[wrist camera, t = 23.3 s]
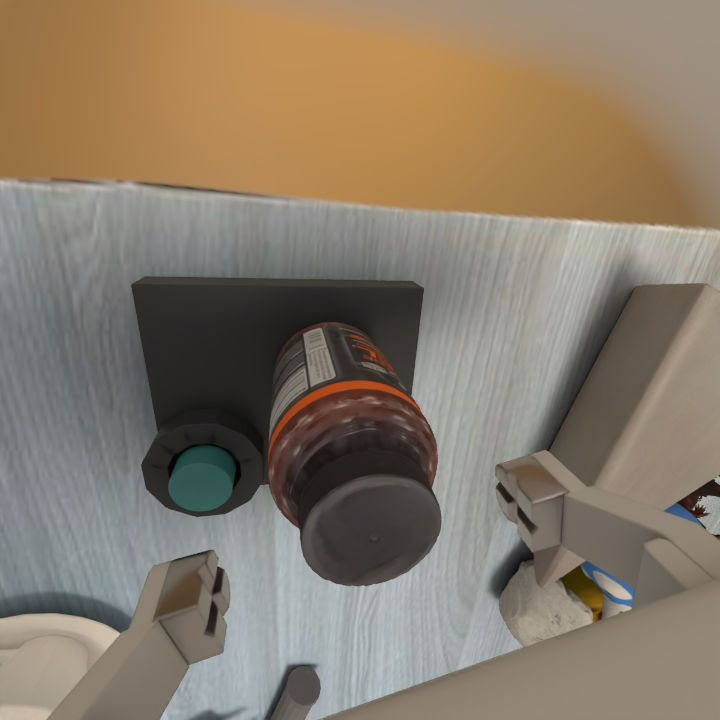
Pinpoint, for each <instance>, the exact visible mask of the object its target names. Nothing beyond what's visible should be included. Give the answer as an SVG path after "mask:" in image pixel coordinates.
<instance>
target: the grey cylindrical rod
mask: <svg viewBox="0 0 720 720" xmlns="http://www.w3.org/2000/svg"><path fill="white" fill-rule="evenodd" d="M320 689H321V687H320V680H319V678H318V676H317V674H316V673H315V672H314V671H313V670H312V669H311V668H309V667H306V666H301V667H297V668H296V669H294V670H293V671H292V672H291V674H290V675H289V676H288V680H287V684H286V687H285V690H284V692H283V694H282V696H281V698H280V700H279V702H278V704H277V707H276V709H275V711H274V713H273V715H272V717H271V719H270V720H305V718H306V716H307V714H308V712H309V710H310V708H311V707H312V705H314V704H315V703H316V701H317V699H318V698H319V695H320Z"/></svg>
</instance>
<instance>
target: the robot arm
mask: <svg viewBox="0 0 720 720" xmlns="http://www.w3.org/2000/svg"><path fill="white" fill-rule="evenodd" d="M495 476H496V477H497V478H498V480H499V481H500V482H499V483H498V485H497V486H496V494H497V499H498V502H499V505H500V507H501V509H502V511H503V513H504V514H505V516H506V517H507V519H508V520H510V521H512V522H514V523H516V524H517V532H518V534H519V535H520V537H521V538H522V539H523V541H524V542H525V544H526V545H527V546H528V548H529V549H530V550H531V552H535V551H539V550H542V549H545V548H549V547H552V546H556V545H559V544H561V546H563V547H565V548H566V549H568V550H570V551H571V552H573V553H575V554H576V555H578V556H580V557H581V558H583V559H585V560H586V561H588V562H590V563H591V564H593V565H595V566H596V567H598V568H600V569H601V570H603V571H605V572H606V573H608V574H610V575H611V576H613V577H615V578H616V579H618V580H620V581H622V582H623V583H625V584H627V585H628V586H630V587H632V588H633V589H635V592H634V597H633V603H632V609H631V610H628V611H625V612H622V613H619V614H617V615H614V616H611V617H608V618H605V619H602V620H600V621H597V622H594V623H591V624H588V625H585V626H582V627H580V628H577V629H574V630H571V631H568V632H565V633H563V634H560V635H557V636H554V637H551V638H548V639H546V640H543V641H540V642H537V643H534V644H531V645H529V646H526V647H523V648H520V649H517V650H514V651H511V652H509V653H506V654H503V655H500V656H497V657H494V658H492V659H489V660H486V661H483V662H480V663H477V664H475V665H472V666H469V667H466V668H463V669H460V670H457V671H455V672H452V673H449V674H446V675H443V676H440V677H438V678H435V679H432V680H429V681H426V682H423V683H421V684H418V685H415V686H412V687H409V688H406V689H404V690H401V691H398V692H395V693H392V694H389V695H387V696H384V697H381V698H378V699H375V700H373V701H370V702H367V703H364V704H361V705H358V706H356V707H353V708H350V709H347V710H344V711H341V712H339V713H336V714H333V715H330V716H327V717H324V718H322V719H319V720H720V540H718V539H717V538H716V537H715V536H713V535H712V534H711V533H709V532H708V531H707V530H705V529H704V528H703V527H702V526H700V525H699V524H698V523H695V522H692V521H689V520H687V519H684V518H681V517H678V516H675V515H673V514H670V513H667V512H664V511H662V510H659V509H656V508H653V507H650V506H648V505H645V504H642V503H639V502H636V501H634V500H631V499H628V498H625V497H622V496H620V495H617V494H614V493H611V492H609V491H606V490H603V489H600V488H597V487H595V486H589V487H587V486H586V485H585V484H584V483H582V482H581V481H580V480H579V479H578V478H577V477H576V476H575V475H574V474H573V473H572V472H570V471H569V470H568V469H567V468H566V467H565V466H564V465H563V464H562V463H561V462H560V461H558V460H557V459H556V458H555V457H554V456H553V455H552V454H551V453H550V452H548V451H546V450H543V451H540V452H537V453H534V454H530V455H528V456H524V457H521V458H517V459H514V460H511V461H508V462H504V463H501V464H498V465H496V468H495ZM218 559H219V558H218V556H217V555H216V553H215V551H214V550H208V551H204V552H201V553H197V554H193V555H190V556H186V557H182V558H178V559H175V560H172V561H169V562H165V563H161V564H158V565H154V566H153V567H152V568H151V570H150V571H149V573H148V576H147V579H146V582H145V584H144V587H143V590H142V593H141V596H140V598H139V601H138V604H137V607H136V610H135V612H134V615H133V618H132V621H131V624H130V626H129V629H128V630H126V631H123V632H121V634H120V635H119V636H118V637H117V638H116V639H115V641H114V642H113V643H112V644H111V645H110V646H109V647H108V649H107V650H106V651H105V652H104V653H103V654H102V656H101V657H100V658H99V659H98V660H97V661H96V662H95V664H94V665H93V666H92V667H91V668H90V669H89V671H88V672H87V673H86V674H85V675H84V676H83V677H82V679H81V680H80V681H79V682H78V683H77V684H76V686H75V687H74V688H73V689H72V690H71V691H70V692H69V694H68V695H67V696H66V697H65V698H64V699H63V701H62V702H61V703H60V704H59V705H58V706H57V707H56V709H55V710H54V711H53V712H52V713H51V714H50V716H49V717H48V718H47V719H46V720H159V719H160V718H161V716H162V714H163V712H164V710H165V709H166V707H167V705H168V703H169V702H170V700H171V698H172V696H173V695H174V693H175V691H176V689H177V688H178V686H179V684H180V682H181V681H182V679H183V677H184V675H185V674H186V672H187V670H188V668H189V666H188V665H190V664H193V663H196V662H199V661H201V660H204V659H207V658H210V657H213V656H215V655H218V654H221V653H223V651H224V644H225V636H226V628H227V624H226V622H225V620H224V618H223V616H224V614H225V613H226V611H227V610H228V608H229V604H230V584H229V580H228V577H227V574H226V572H225V570H224V569H222V568H220V567H218V566H217V565H218Z"/></svg>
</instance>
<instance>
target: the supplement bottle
mask: <svg viewBox="0 0 720 720" xmlns="http://www.w3.org/2000/svg"><path fill="white" fill-rule="evenodd" d="M268 454H269V455H268V479H269V487H270V490H271V494H272V496H273V499H274V501H275V503H276V505H277V507H278V508H279V510H280V511H281V512H282V514H283V515H284V516H285V517H286V518H287V519H288V520H289V521H290V522H291V523H292V524H293V525H295V526H296V527H298V528H299V529H300V540H301V547H302V552H303V556H304V558H305V560H306V562H307V564H308V565H309V566H310V567H311V569H312V570H313V571H314V572H315V573H317V574H318V575H319V576H320V577H322V578H323V579H325V580H330V581H332V582H334V583H336V584H342V585H347V586H352V585H353V586H363V585H364V586H368V585H372V584H378V583H382V582H386V581H388V580H391V579H394V578H396V577H398V576H400V575H402V574H404V573H406V572H408V571H409V570H410V569H411V568H413V567H414V566H415V565H417V564H418V563H419V562H420V561H421V560H422V559H423V558H424V557H425V556H426V555H427V554H428V553H429V552H430V550H431V549H432V547H433V545H434V544H435V542H436V540H437V537H438V536H439V533H440V529H441V511H440V507H439V504H438V502H437V499H436V497H435V495H434V493H433V490H432V485H433V482H434V479H435V476H436V470H437V463H438V454H437V444H436V440H435V437H434V435H433V432H432V430H431V428H430V425H429V424H428V422H427V420H426V418H425V417H424V415H423V414H422V412H421V410H420V408H419V406H418V405H417V404H416V403H415V401H414V399H413V398H412V397H411V395H410V394H409V392H408V390H407V389H406V387H405V386H404V385H403V383H402V382H401V380H400V379H399V377H398V376H397V375H396V373H395V371H394V370H393V368H392V367H391V365H390V364H389V362H388V361H387V359H386V357H385V356H384V355H383V353H382V352H381V350H380V348H379V347H378V346H377V344H376V343H375V342H374V341H373V340H372V339H371V338H370V337H369V336H368V335H366V334H365V333H364V332H362V331H361V330H359V329H357V328H355V327H353V326H350V325H347V324H343V323H337V322H323V323H319V324H316V325H312V326H309V327H307V328H305V329H303V330H301V331H299V332H297V333H296V334H295V335H294V336H292V337H291V338H290V339H289V340H288V341H287V343H286V344H285V345H284V346H283V348H282V349H281V351H280V353H279V355H278V357H277V360H276V364H275V368H274V374H273V386H272V401H271V419H270V431H269V448H268Z"/></svg>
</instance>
